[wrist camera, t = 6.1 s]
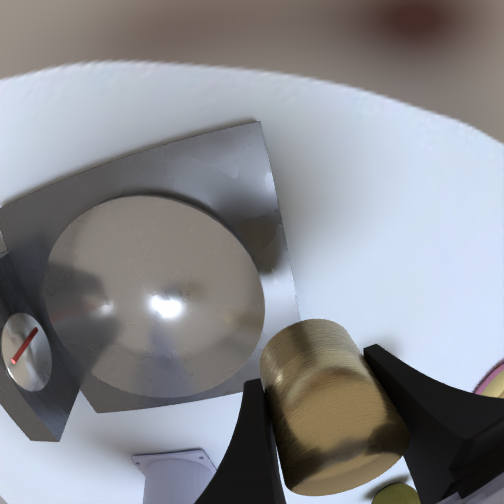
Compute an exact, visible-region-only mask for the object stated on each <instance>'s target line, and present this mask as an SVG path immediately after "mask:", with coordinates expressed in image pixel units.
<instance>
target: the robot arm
mask: <svg viewBox="0 0 504 504" xmlns="http://www.w3.org/2000/svg"><path fill="white" fill-rule="evenodd" d="M363 349H364V358H365V360H366V362H367V363H368V365H369V366H370V368H371V369H372V371H373V373H374V374H375V376H376V377H377V379H378V381H379V382H380V384H381V385H382V387H383V389H384V390H385V392H386V393H387V395H388V397H389V398H390V400H391V402H392V403H393V405H394V406H395V408H396V410H397V411H398V413H399V415H400V416H401V418H402V420H403V421H404V423H405V424H406V426H407V428H408V429H409V431H410V434H411V441H410V444H409V446H408V448H407V450H406V452H405V453H404V455H403V456H404V459H405V461H406V464H407V466H408V469H409V471H410V474H411V476H412V479H413V482H414V485H415V487H416V490H417V493H418V497H419V500H420V503H421V504H504V398H498V397H489V396H484V395H479V394H474V393H470V392H467V391H463V390H460V389H457V388H454V387H451V386H448V385H446V384H444V383H441V382H439V381H437V380H434V379H432V378H430V377H428V376H426V375H425V374H423V373H421V372H419V371H417V370H416V369H414V368H412V367H411V366H409V365H407V364H406V363H404V362H403V361H401V360H400V359H398V358H397V357H395V356H394V355H392V354H391V353H389V352H388V351H386V350H385V349H383V348H382V347H380V346H379V345H377V344H375V345H372V346H369V347H366V348H363ZM131 461H132V462H133V463H134V464H135V465H136V466H137V467H138V468H139V470H140V471H141V472H142V473H143V474H144V475H145V476H146V477H145V487H144V497H143V504H286V501H285V496H284V492H283V488H282V484H281V480H280V474H279V466H278V458H277V450H276V442H275V438H274V433H273V429H272V424H271V419H270V415H269V410H268V406H267V401H266V397H265V393H264V389H263V386H262V382H261V379H260V378H257V379H253V380H248V381H245V383H244V388H243V397H242V403H241V408H240V412H239V416H238V420H237V424H236V427H235V430H234V433H233V436H232V439H231V441H230V444H229V446H228V449H227V451H226V453H225V455H224V457H223V459H222V461H221V463H220V465H219V467H218V469H217V470H216V469H215V467H214V466H213V464H212V463H211V461H210V460H209V458H208V457H207V455H206V453H205V452H204V451H202V450H194V451H187V452H178V453H168V454H157V455H143V456H132V458H131Z"/></svg>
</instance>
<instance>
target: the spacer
mask: <svg viewBox="0 0 504 504" xmlns="http://www.w3.org/2000/svg"><path fill="white" fill-rule="evenodd" d="M259 369H260V373H261V378H262V383H263V387H264V392H265V397H266V401H267V406H268V410H269V415H270V419H271V424H272V429H273V433H274V438H275V442H276V447H277V451H278V455H279V460H280V464H281V469H282V473H283V478H284V482H285V485H286V487H287V488H288V489H289V490H290V491H292V492H294V493H297V494H300V495H305V496H324V495H331V494H336V493H340V492H344V491H347V490H351V489H353V488H356V487H358V486H361V485H363V484H365V483H367V482H369V481H371V480H373V479H375V478H376V477H378V476H380V475H381V474H383V473H384V472H386V471H387V470H388V469H390V468H391V467H392V466H393V465H394V464H395V463H396V462H397V461H398V460H399V459H400V458H401V457H402V456H403V455H404V453H405V452H406V450H407V448H408V446H409V444H410V441H411V434H410V431H409V429H408V428H407V426H406V424H405V423H404V421H403V420H402V418H401V416H400V415H399V413H398V411H397V410H396V408H395V406H394V405H393V403H392V402H391V400H390V398H389V397H388V395H387V393H386V392H385V390H384V389H383V387H382V385H381V384H380V382H379V381H378V379H377V377H376V376H375V374H374V373H373V371H372V369H371V368H370V366H369V365H368V363H367V362H366V360H365V358H364V357H363V355H362V354H361V352H360V351H359V349H358V347H357V346H356V344H355V343H354V341H353V340H352V338H351V337H350V335H349V334H348V332H347V331H346V330H345V329H344V328H343V327H342V326H341V325H339V324H337V323H335V322H333V321H329V320H325V319H310V320H304V321H300V322H297V323H294V324H292V325H290V326H287V327H286V328H284V329H282V330H281V331H279V332H278V333H277V334H276V335H274V336H273V337H272V338H271V339H270V341H269V342H268V343H267V344H266V346H265V347H264V349H263V351H262V353H261V356H260V361H259Z"/></svg>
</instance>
